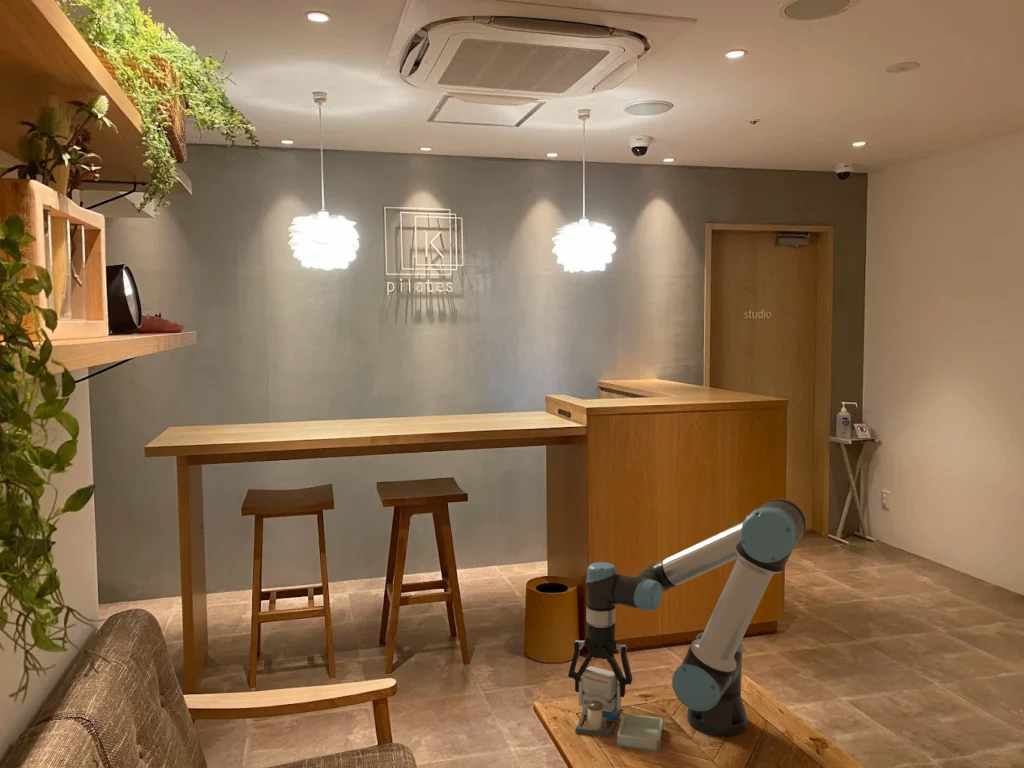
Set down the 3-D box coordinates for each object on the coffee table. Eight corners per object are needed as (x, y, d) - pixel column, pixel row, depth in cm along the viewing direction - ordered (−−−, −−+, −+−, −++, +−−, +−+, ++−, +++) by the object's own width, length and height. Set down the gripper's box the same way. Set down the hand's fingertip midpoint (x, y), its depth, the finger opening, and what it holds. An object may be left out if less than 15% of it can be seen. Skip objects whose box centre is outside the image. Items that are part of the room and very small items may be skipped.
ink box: (618, 715, 217) (619, 672, 216) (610, 723, 212) (610, 678, 212) (589, 707, 221) (590, 664, 220) (580, 714, 217) (581, 671, 216)
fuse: (603, 728, 211) (603, 701, 210) (601, 736, 207) (601, 708, 206) (588, 727, 212) (588, 699, 211) (586, 734, 208) (586, 706, 207)
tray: (662, 728, 211) (662, 718, 211) (658, 752, 199) (659, 741, 199) (622, 723, 213) (623, 713, 213) (616, 746, 202) (616, 735, 202)
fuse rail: (620, 708, 222) (620, 699, 222) (611, 737, 206) (611, 728, 206) (586, 704, 224) (586, 695, 224) (575, 732, 209) (575, 723, 208)
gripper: (644, 621, 216) (643, 704, 218) (562, 613, 222) (561, 694, 223) (641, 631, 209) (640, 717, 210) (556, 623, 214) (556, 707, 216)
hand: (599, 705), depth 217 cm, fingers closed on ink box, 9 cm apart
